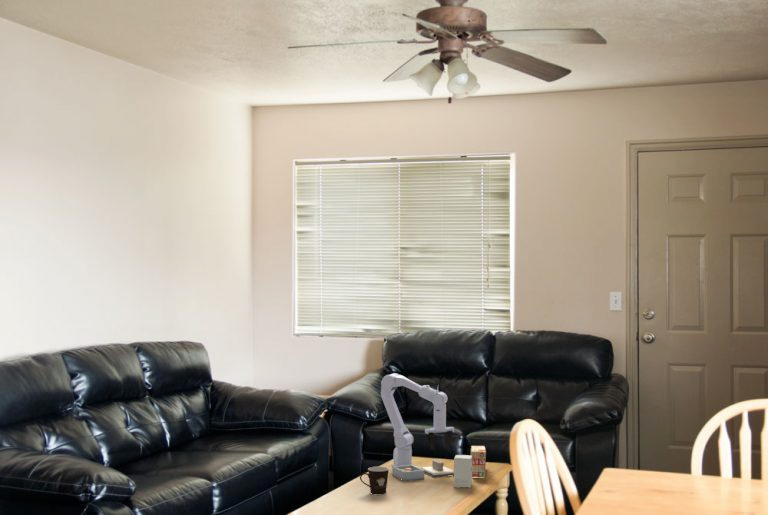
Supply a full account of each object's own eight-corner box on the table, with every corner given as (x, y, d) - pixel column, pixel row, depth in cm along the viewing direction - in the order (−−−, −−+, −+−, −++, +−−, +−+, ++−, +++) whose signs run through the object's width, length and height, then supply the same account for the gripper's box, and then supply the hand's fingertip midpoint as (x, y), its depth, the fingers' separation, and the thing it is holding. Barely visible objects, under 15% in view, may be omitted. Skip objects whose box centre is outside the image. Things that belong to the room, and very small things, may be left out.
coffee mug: (389, 490, 376) (389, 466, 376) (387, 495, 367) (387, 471, 368) (362, 489, 377) (362, 466, 377) (359, 495, 369) (359, 470, 369)
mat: (419, 471, 412) (419, 470, 412) (442, 468, 417) (442, 468, 417) (433, 477, 400) (433, 476, 400) (456, 475, 405) (456, 474, 405)
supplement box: (470, 488, 381) (470, 458, 381) (453, 487, 382) (453, 457, 383) (472, 484, 388) (472, 455, 388) (455, 483, 390) (455, 454, 390)
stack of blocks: (470, 467, 420) (470, 441, 420) (484, 468, 420) (484, 441, 420) (471, 478, 399) (471, 451, 399) (485, 479, 398) (485, 451, 399)
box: (392, 475, 403) (392, 466, 403) (412, 473, 408) (412, 464, 408) (404, 481, 392) (404, 472, 393) (424, 479, 397) (424, 470, 397)
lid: (421, 470, 412) (421, 459, 412) (441, 468, 416) (441, 457, 416) (433, 476, 401) (434, 465, 401) (454, 474, 405) (454, 463, 405)
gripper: (429, 421, 407) (429, 451, 407) (457, 419, 413) (457, 448, 413) (422, 418, 413) (422, 448, 413) (450, 416, 419) (450, 445, 419)
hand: (439, 448), depth 413 cm, fingers open, 7 cm apart
